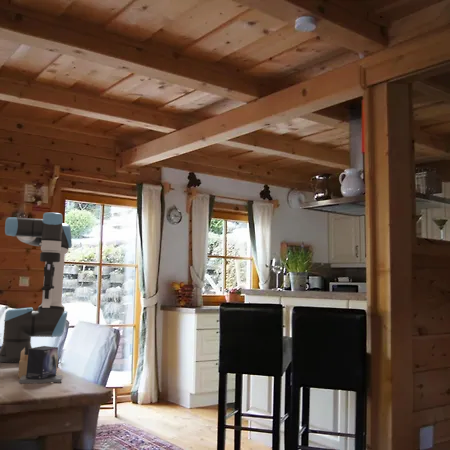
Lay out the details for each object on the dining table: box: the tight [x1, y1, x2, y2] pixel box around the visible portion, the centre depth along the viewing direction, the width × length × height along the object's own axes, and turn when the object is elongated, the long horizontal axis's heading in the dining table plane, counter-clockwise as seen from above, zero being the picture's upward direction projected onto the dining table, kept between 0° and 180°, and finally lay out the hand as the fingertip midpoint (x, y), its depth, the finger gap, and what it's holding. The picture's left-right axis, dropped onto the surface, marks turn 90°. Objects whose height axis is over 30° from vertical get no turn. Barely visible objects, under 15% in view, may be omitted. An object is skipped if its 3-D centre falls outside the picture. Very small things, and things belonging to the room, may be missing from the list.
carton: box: [17, 348, 59, 379], centre depth 212 cm, size 19×13×9 cm
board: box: [19, 374, 63, 384], centre depth 197 cm, size 10×14×1 cm
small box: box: [26, 345, 59, 379], centre depth 197 cm, size 11×6×10 cm, turn 169°
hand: (46, 306), depth 214 cm, fingers open, 13 cm apart
